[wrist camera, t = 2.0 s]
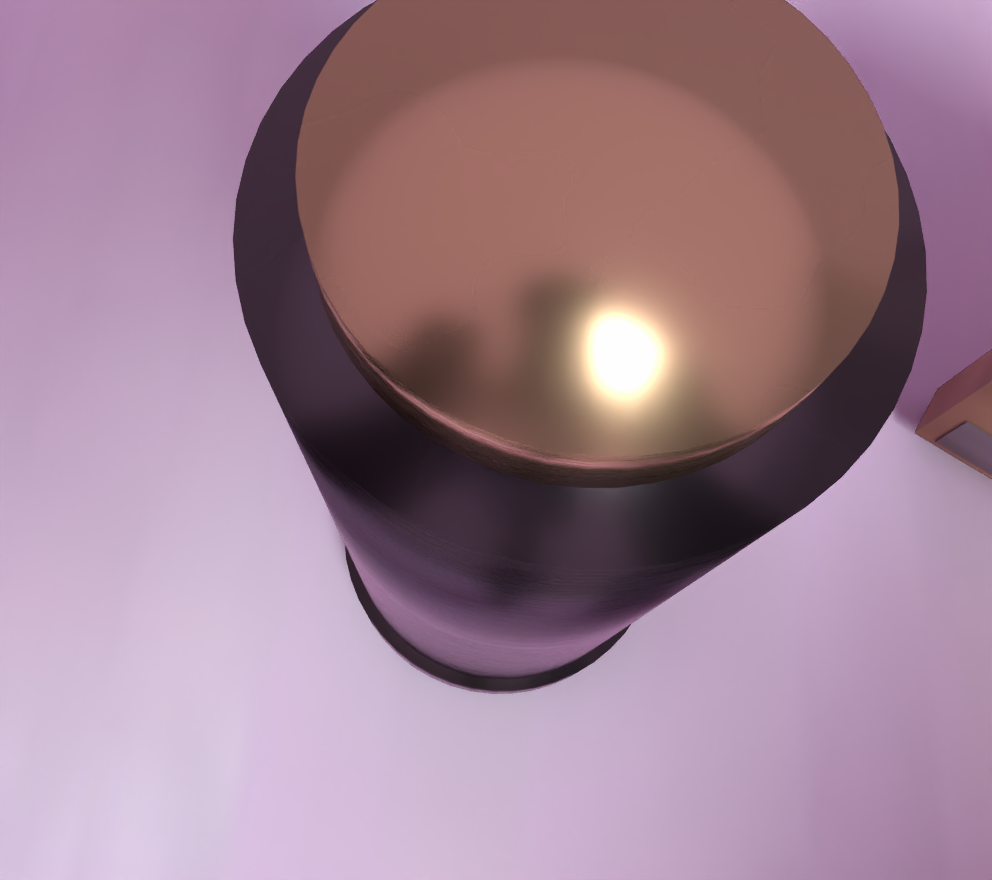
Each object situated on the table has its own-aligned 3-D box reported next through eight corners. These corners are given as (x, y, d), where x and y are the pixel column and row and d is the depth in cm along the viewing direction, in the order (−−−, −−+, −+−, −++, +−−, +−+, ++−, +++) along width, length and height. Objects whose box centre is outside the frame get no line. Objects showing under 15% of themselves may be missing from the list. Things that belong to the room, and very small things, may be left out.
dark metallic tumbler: (546, 757, 18) (771, 772, 6) (288, 581, 19) (-5, 257, 6) (699, 500, 19) (1126, 88, 7) (458, 349, 20) (483, -250, 8)
